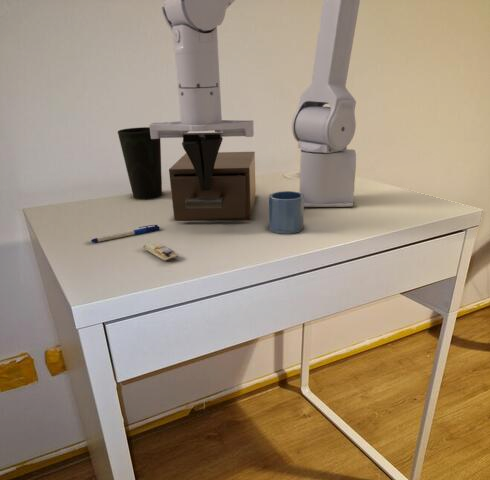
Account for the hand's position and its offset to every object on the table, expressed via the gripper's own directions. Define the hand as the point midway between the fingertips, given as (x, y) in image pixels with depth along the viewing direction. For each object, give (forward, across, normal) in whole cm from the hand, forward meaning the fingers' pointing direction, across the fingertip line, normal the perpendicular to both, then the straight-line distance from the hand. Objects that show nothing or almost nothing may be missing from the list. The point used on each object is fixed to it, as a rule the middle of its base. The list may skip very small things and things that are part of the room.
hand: (206, 188), depth 70 cm
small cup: (+6, +12, -1) cm, 13 cm away
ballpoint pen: (+6, -12, -4) cm, 14 cm away
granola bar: (+6, -5, -12) cm, 14 cm away
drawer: (+5, 0, +6) cm, 8 cm away
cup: (+6, -15, +20) cm, 26 cm away
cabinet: (+6, 0, +11) cm, 12 cm away
